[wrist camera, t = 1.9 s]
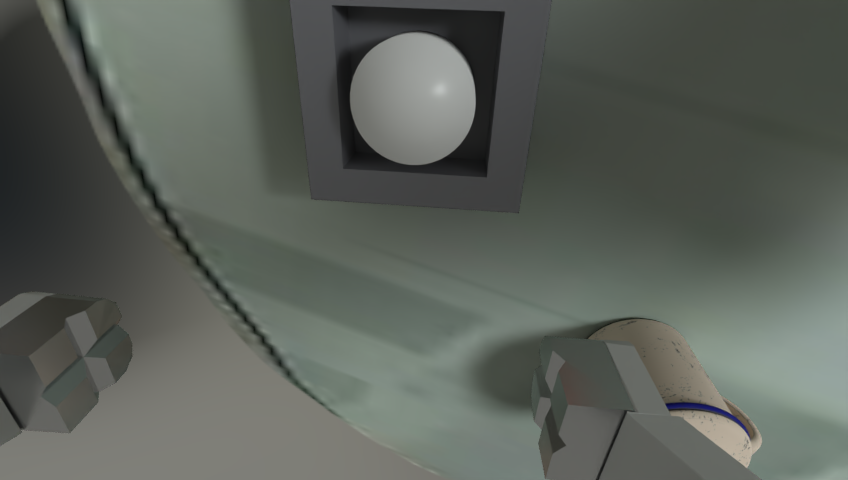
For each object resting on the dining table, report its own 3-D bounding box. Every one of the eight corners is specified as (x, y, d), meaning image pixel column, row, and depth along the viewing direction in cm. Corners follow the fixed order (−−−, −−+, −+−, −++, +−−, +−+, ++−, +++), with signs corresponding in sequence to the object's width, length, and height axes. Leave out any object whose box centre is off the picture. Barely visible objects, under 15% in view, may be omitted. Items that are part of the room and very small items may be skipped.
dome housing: (540, -33, 23) (558, -41, 18) (511, 180, 28) (518, 212, 24) (318, -39, 23) (283, -48, 19) (334, 169, 29) (311, 199, 25)
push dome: (480, 32, 21) (481, 37, 19) (469, 150, 24) (470, 168, 22) (360, 28, 22) (346, 32, 19) (365, 144, 25) (353, 161, 22)
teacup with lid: (556, 383, 37) (589, 526, 27) (597, 303, 33) (654, 439, 23) (689, 411, 37) (771, 563, 27) (748, 335, 33) (872, 484, 23)
